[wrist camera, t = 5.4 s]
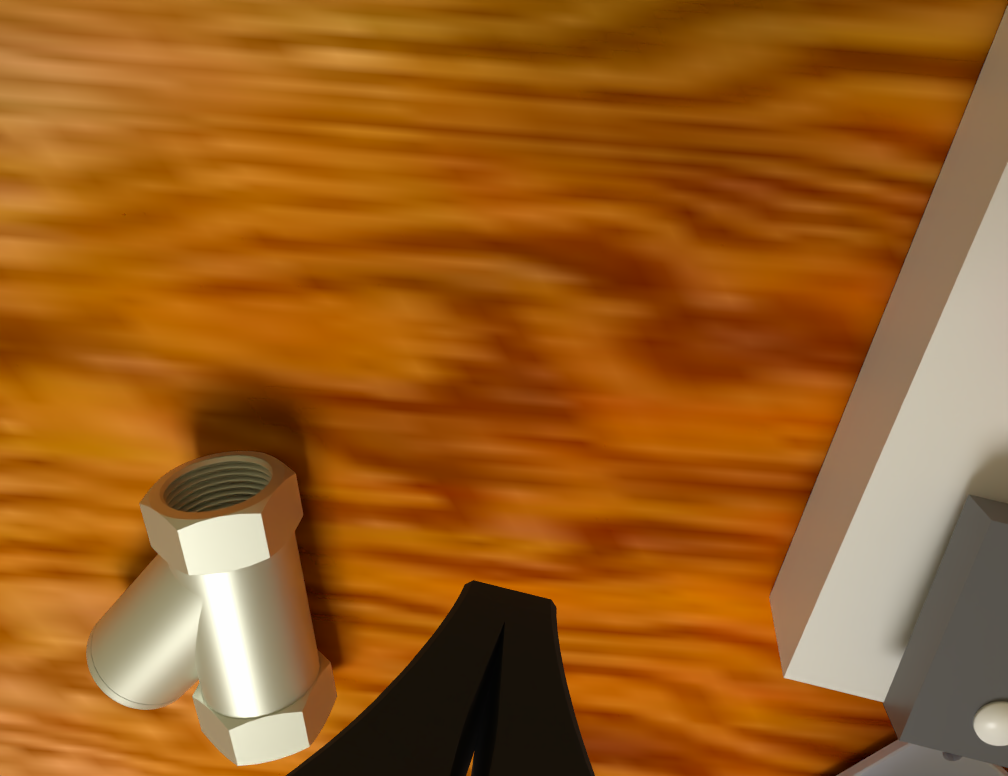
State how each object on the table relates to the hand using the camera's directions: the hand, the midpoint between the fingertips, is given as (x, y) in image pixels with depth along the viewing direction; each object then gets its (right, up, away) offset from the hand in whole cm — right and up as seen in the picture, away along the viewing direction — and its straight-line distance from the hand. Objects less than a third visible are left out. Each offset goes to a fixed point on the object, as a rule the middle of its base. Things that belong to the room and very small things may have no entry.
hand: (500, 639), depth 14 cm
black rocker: (+11, -1, +4) cm, 11 cm away
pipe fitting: (-8, -1, +13) cm, 16 cm away
